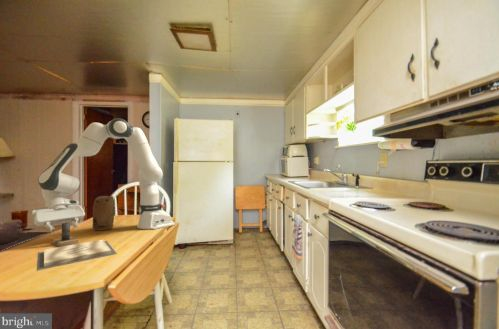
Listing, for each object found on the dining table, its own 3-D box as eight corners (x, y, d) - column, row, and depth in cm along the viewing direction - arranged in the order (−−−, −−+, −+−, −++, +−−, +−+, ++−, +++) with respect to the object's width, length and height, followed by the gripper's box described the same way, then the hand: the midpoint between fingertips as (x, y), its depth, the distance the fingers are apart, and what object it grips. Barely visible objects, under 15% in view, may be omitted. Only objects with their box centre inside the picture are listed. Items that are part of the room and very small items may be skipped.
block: (114, 227, 150) (115, 195, 150) (111, 230, 142) (111, 196, 143) (95, 228, 147) (95, 195, 147) (90, 231, 140) (90, 197, 140)
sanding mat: (106, 242, 121) (106, 240, 121) (117, 255, 104) (117, 253, 104) (38, 254, 104) (38, 252, 104) (36, 272, 87) (36, 270, 87)
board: (102, 242, 118) (102, 239, 118) (110, 253, 104) (110, 249, 104) (44, 252, 104) (44, 249, 104) (44, 267, 89) (44, 263, 89)
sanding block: (53, 244, 117) (53, 223, 117) (70, 241, 123) (70, 220, 123) (60, 248, 111) (61, 226, 111) (78, 244, 117) (78, 223, 117)
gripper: (32, 205, 114) (38, 229, 108) (81, 200, 131) (89, 220, 125) (29, 213, 116) (35, 237, 111) (78, 207, 133) (85, 228, 127)
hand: (64, 228), depth 118 cm, fingers open, 8 cm apart
